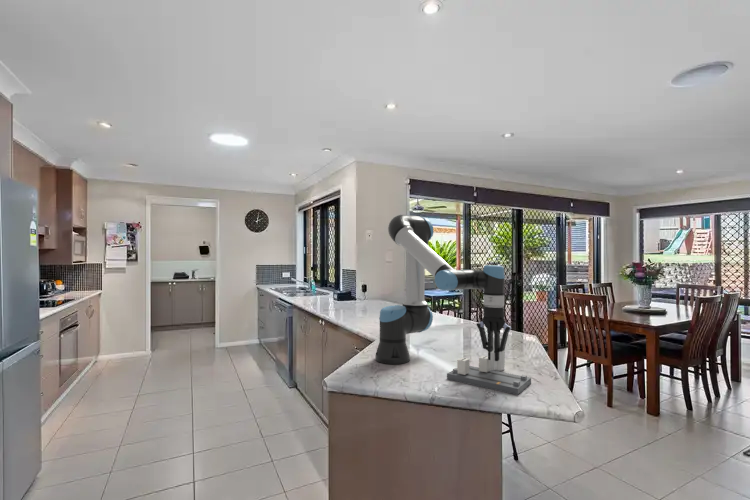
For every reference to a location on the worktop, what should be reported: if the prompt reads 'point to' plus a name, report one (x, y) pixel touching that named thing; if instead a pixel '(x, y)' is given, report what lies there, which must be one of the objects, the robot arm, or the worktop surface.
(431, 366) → the worktop surface
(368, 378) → the worktop surface
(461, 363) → the fader near
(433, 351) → the worktop surface
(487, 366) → the fader far
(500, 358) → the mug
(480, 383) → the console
